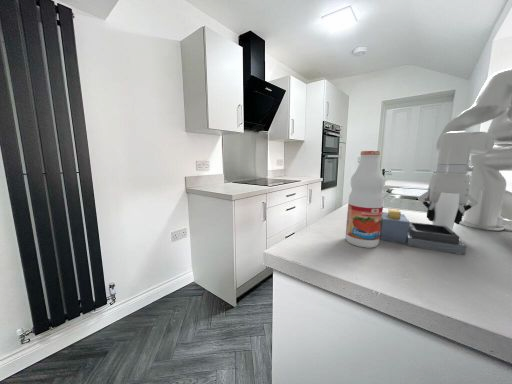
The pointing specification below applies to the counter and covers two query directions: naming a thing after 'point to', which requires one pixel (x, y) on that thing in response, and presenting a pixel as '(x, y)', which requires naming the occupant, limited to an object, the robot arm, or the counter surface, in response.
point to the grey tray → (419, 234)
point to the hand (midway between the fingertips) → (443, 221)
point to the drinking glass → (446, 210)
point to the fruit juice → (365, 202)
